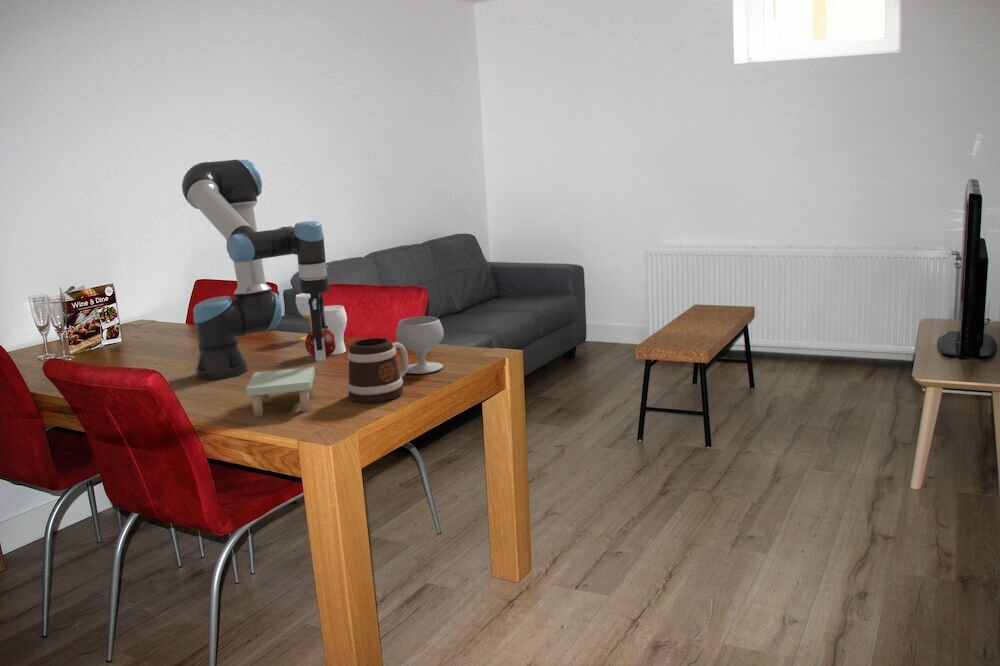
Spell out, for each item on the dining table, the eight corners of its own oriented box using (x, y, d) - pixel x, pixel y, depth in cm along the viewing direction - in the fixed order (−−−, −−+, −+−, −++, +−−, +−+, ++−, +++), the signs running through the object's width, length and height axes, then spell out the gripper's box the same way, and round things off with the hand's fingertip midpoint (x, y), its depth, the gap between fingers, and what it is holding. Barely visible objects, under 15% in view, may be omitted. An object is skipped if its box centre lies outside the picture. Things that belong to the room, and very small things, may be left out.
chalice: (391, 375, 249) (386, 325, 246) (413, 362, 262) (408, 315, 259) (434, 376, 244) (429, 326, 241) (454, 363, 257) (450, 315, 253)
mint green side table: (249, 418, 218) (245, 388, 216) (258, 400, 233) (254, 372, 231) (313, 411, 219) (309, 382, 218) (317, 394, 235) (314, 366, 233)
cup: (333, 357, 275) (327, 312, 272) (311, 354, 282) (305, 310, 278) (357, 350, 283) (352, 306, 280) (335, 347, 290) (330, 304, 287)
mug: (373, 408, 219) (367, 351, 216) (336, 399, 229) (330, 345, 226) (428, 387, 234) (423, 334, 230) (391, 380, 243) (386, 329, 240)
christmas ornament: (311, 354, 246) (307, 320, 243) (340, 352, 246) (337, 319, 243) (303, 362, 238) (299, 327, 235) (333, 361, 237) (330, 326, 235)
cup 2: (322, 340, 302) (317, 295, 299) (297, 341, 302) (291, 297, 299) (328, 334, 311) (322, 291, 307) (303, 336, 311) (298, 293, 308)
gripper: (325, 283, 226) (333, 365, 232) (329, 270, 247) (337, 345, 252) (296, 285, 225) (305, 367, 231) (303, 272, 246) (311, 347, 251)
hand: (322, 356), depth 241 cm, fingers closed on christmas ornament, 9 cm apart
